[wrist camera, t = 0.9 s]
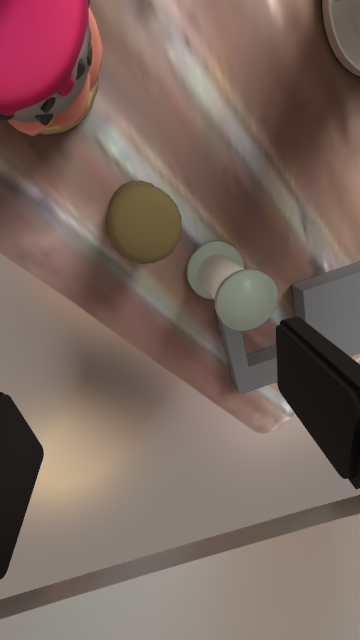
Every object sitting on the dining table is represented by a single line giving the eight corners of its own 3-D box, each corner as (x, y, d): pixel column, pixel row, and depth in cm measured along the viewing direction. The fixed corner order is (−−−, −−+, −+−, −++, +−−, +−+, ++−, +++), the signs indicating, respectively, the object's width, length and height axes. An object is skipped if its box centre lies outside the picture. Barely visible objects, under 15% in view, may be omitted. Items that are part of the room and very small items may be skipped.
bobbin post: (235, 233, 30) (280, 252, 21) (245, 286, 33) (288, 322, 24) (179, 251, 30) (201, 279, 21) (194, 303, 33) (219, 346, 24)
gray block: (367, 258, 34) (384, 263, 32) (364, 337, 40) (378, 346, 37) (215, 310, 34) (221, 319, 31) (233, 382, 39) (239, 394, 37)
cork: (175, 237, 29) (199, 263, 19) (119, 251, 29) (115, 284, 19) (162, 173, 26) (182, 166, 17) (99, 188, 26) (82, 189, 16)
